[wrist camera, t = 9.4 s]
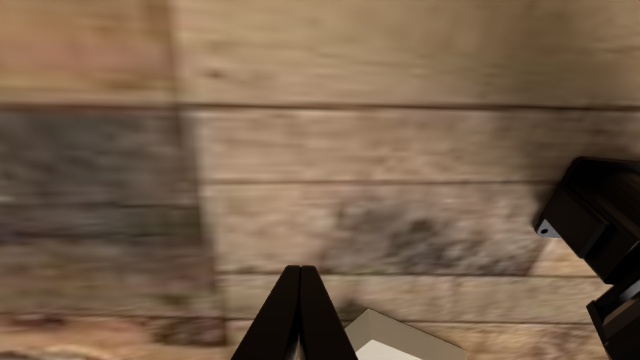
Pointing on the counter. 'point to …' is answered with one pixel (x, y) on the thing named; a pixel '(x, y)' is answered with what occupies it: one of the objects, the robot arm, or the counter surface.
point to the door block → (396, 340)
